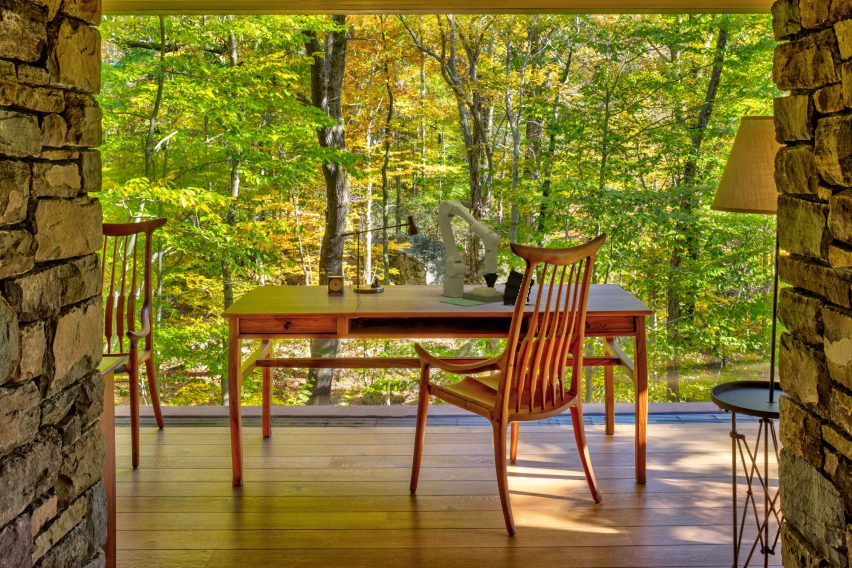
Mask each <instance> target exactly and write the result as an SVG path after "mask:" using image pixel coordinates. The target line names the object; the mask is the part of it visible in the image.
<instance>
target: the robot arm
mask: <svg viewBox="0 0 852 568" xmlns="http://www.w3.org/2000/svg"><path fill="white" fill-rule="evenodd" d="M437 208H438V215H437V223H438V227H439V231H440V235H441V238H442V242H443V247H444V250H445V254H446V255H445V256H446V259H445V262H444V263H445V264H444V265H445V270H444V271H445V274H446V275H447V276H446V277H444V279H443V286H442V289H443V291H442V292H443V293H442V294H441V296H442V297H443V296H444V297H450V298H460V297H461V298H463V293H464V292H465V287H464V286H465V285H464V283H465V281H464V279H465V274H466V272H467V265H466V263H465V262H464V261H463V258H462V257H461V255H460V254H459V252H458V247H457V244H456V243H457V242H456V239H455V236H454V231H453V227H452V225H451V222H452V220H453V218H454V217H456V216H458V217H460V218H461V219H463V221H464V222H466V223H467V224H468V225H470V226H471V231H472V232H473V233H474V234H475V235H476V236H478V238H479V239H481V240H482V241H481V242H482V244H483V247H484V269H482V270H477V276H482V277H483V279H484V280H485V283H486V287H492V288H495V285H496V282H497V280H498V278H499V274H504V273H505V268H498V244H499V243H500V235H499V234H498V232H493V230H492V229H490V228H488V226H487V225H486V222H485V221H481V220H477V219H476V218H475V217H474V216H473V215H472V214H471V213H470V212H469V211H468V210H467V209H466V207H465V206H464V204H462V203H461V202H460V201H459V200H457V199H453V200H452V199H451V200H447V199H445V200H443V201H442V202H440V204H439V205H438V207H437Z"/></svg>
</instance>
